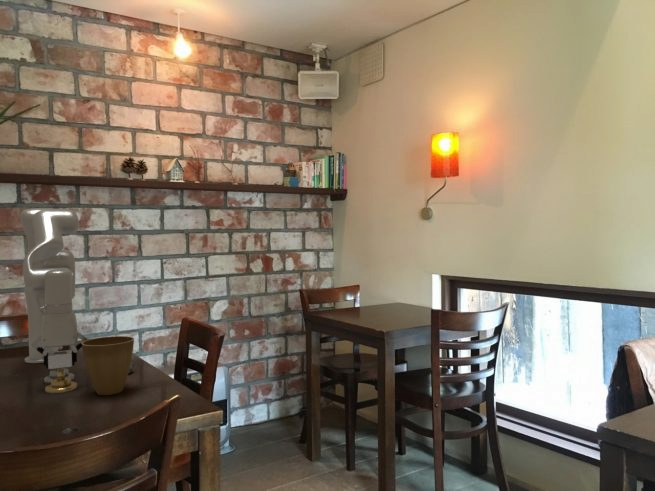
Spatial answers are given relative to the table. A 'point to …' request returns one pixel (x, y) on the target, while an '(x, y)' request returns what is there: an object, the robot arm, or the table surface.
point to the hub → (61, 383)
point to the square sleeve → (60, 359)
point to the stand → (54, 375)
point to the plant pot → (108, 362)
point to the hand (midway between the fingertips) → (60, 365)
